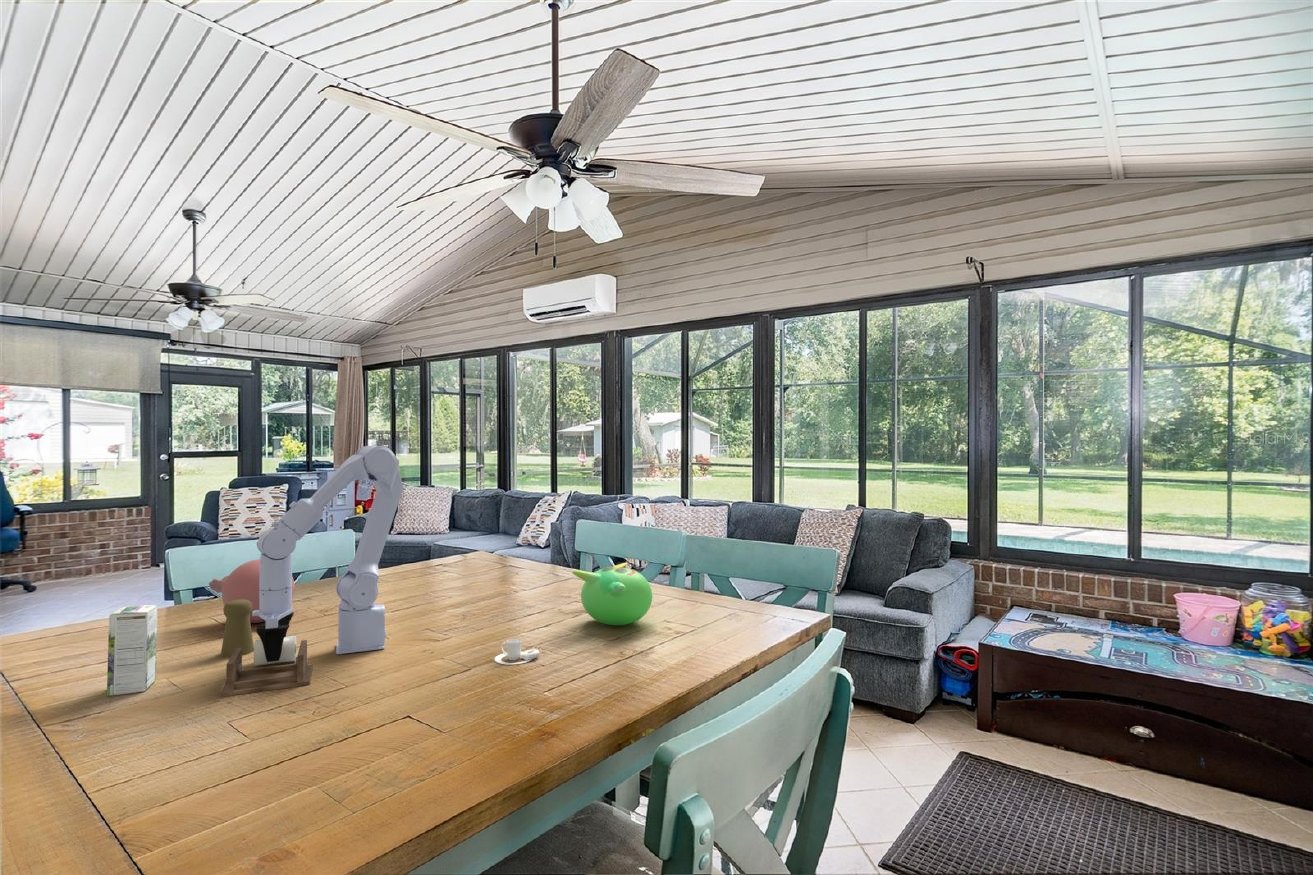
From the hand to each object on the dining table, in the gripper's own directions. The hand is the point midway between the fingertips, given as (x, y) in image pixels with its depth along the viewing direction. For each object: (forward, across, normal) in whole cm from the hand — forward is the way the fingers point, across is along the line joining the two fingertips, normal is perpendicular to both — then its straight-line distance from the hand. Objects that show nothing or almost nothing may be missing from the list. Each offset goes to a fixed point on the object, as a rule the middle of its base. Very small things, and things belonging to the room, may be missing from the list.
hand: (275, 655), depth 132 cm
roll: (+2, 0, 0) cm, 2 cm away
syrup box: (+2, +5, -22) cm, 23 cm away
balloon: (+2, -37, -9) cm, 38 cm away
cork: (+2, -11, -8) cm, 14 cm away
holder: (+2, +11, 0) cm, 11 cm away
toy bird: (+2, +2, +73) cm, 73 cm away
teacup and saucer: (+2, +20, +45) cm, 49 cm away
